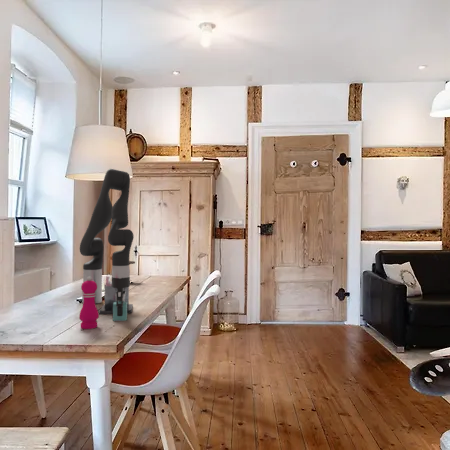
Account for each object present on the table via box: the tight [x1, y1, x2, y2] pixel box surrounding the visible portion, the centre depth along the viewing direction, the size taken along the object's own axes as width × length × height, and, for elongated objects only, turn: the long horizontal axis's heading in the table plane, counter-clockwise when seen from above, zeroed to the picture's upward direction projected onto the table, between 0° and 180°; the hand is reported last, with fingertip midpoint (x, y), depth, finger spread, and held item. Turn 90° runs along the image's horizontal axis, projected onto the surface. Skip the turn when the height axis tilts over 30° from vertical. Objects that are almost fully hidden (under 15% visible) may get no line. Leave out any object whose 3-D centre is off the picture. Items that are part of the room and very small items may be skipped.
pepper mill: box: [79, 276, 100, 330], centre depth 164 cm, size 7×7×20 cm
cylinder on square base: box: [98, 274, 134, 315], centre depth 195 cm, size 14×14×16 cm
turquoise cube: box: [112, 302, 128, 322], centre depth 177 cm, size 6×5×7 cm
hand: (120, 313), depth 177 cm, fingers open, 8 cm apart
